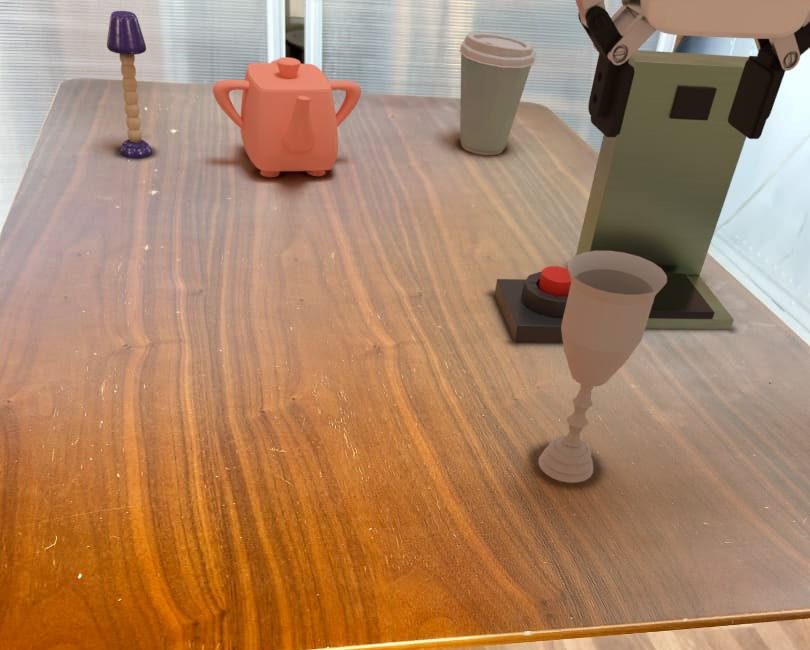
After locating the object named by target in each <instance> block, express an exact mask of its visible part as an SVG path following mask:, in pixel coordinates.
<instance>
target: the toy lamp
mask: <svg viewBox="0 0 810 650" xmlns="http://www.w3.org/2000/svg"><path fill="white" fill-rule="evenodd" d="M106 47H107V49H108V51H109V52H111V53H115V54H118V55H119V60H120V63H121V65H120V72H121V75H122V80H121V82H122V88H123V100H124V102H125V104H124V111H125V115H126V119H125V120H126V121H125V122H126V126H127V128H128V129H127V138H128V139H126V140H124V141H123V143H121V146H120V148H119V154H120V156H122V157H124V158H127V159H133V160H135V159H136V160H138V159H146V158H150V157H151V156H153V154H154V153H153V149H152V146H150V144H149V143H148V142H147V141H145V140H144V139H142V137H143V135H142V130H141V119H140V117H139V116H140V112H141V111H140V106H139V104H138V102H139V94H138V92H137V88H138V82H137V78H136V74H137V71H136V69H137V68H136V66H135V60H136V58H135V55H141V54H143V53H145V52H146V51H147V46H146V42H145V38H144V35H143V33H142V29H141V24H140V21H139V20H138V17H137V15H136V13H134V12H133V11H127V10H114V11H112V12H111V13H110V17H109V25H108V32H107V41H106Z"/></svg>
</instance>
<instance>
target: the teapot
mask: <svg viewBox="0 0 810 650" xmlns="http://www.w3.org/2000/svg"><path fill="white" fill-rule="evenodd" d="M236 90H237V91H238V90H239V91H242V93H241V94H242V96H241V104H240V114H239V113H238V111H237V110H236V108H235V106H234V104H233V102H232V101H231V98H230V92H231V91H236ZM333 91H343V92H345V97H344V100H343V102H342V104H341V106H340V108H339V109H338V111H337V112H336V106H335V100H334V94H333ZM212 94H213V97H214V100H215V101H216V103H217V104H218V106H219V107H220V109H221V110H222V111H223V113H225V115H227V117H228V118H229V119H230V120H231V121H232V122H233V123H234V124H235V125H236V126H238V127H239V129H240V136H241V140H242V144H243V147H244V149H245V152H246V155H247V157H248V159H249V160H250V162H251V163H252V164H253V165H254V166H255V167H256V168H257V169H258V170H259V171H260V172H259V174H260V175H261V176H262V177H265V178H275V177H278V176H280V174H281V172H306V174H308V175H309V176H313V177H322V176H325V175H326V171H329V170H332V169H333V168H334V167H335V164H336V161H337V158H338V153H339V136H338V135H339V133H338V127H339V126H341V125H342V123H343V122H344V121H345V120H346V119H347V118H348V117H349V116H350V114H351V113H352V112H353V110H354V109H355V108H356V106H357V105H358V103H359V100H360V98H361V95H362V88H361V86H360V85H359V84H358V83H357V82H355V81H351V80H344V79H343V80H339V79H338V80H329V79H328V77H327V76H326V74H325V73H324V72H323V71H322V70H321V69H320V68H319V67H318V66H317V65H315V64H313V63H301V61H300V59H297V58H294V57H287V56H285V57H279V58H277V59H276V60H275V59H274V60H272V61H271V62H253V63H249V64H248V65H247V67H246V69H245V76H244V80H243V79H222V80H219V81H216V82H215V83H214V84H213V86H212Z"/></svg>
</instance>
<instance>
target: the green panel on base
mask: <svg viewBox="0 0 810 650" xmlns="http://www.w3.org/2000/svg"><path fill="white" fill-rule="evenodd" d="M748 59H749V56H742V55H741V56H739V55H738V56H737V55H726V54H725V55H724V54H723V55H722V54H707V53H706V54H705V53H689V52H675V51H674V52H673V51H659V50H657V51H656V50H643V49H638V50H637V51H636V52H635V53H634V54H633V55H632V56H631V57H630V58H629V62H628V63H629V64H630V65H631V66H633V67H634V70H635V72H634V77H633V82H632V86H631V90H630V94H629V98H628V102H627V106H626V110H625V114H624V119H623V123H622V127H621V131H620V134H619V135H617V136H616V137H606V136H605V135H604V134H603V135H602V140H601V144H600V149H599V153H598V158H597V162H596V167H595V171H594V175H593V179H592V182H591V183H592V184H591V187H590V192H589V196H588V201H587V205H586V209H585V214H584V219H583V223H582V226H581V231H580V236H579V240H578V245H577V248H576V253H575V256H576V255H579V254H581V253H584V252H591V251H615V252H623V253H628V254H631V255H635V256H639V257H641V258H644V259H646V260H648V261H651V262H653V263H654V264H656V265H657V266H658V267H660V268H661V269H662V270H663V271H664V273H665V274H666V275H667V283H666V284H665V285H664V286H663V288H662V289H661V290H660V291H659V292H658V293H657V294H656V295H655V298H654V301H653V304H652V307H651V311H650V314H649V317H648V321H647V324H646V327H645V330H731V328H732V326H733V323H734V320H735V319H734V318H733V316H732V314H730V313H729V311H728V310H727V309H726V308H725V306H724V305H723V304H722V302H721V301H720V300H719V299H718V297H717V296H716V295H715V294H714V292H713V291H712V290H711V288H710V287H709V285H708V284H706V282H705V281H704V280H703V278H702V277H701V273H702V270H703V267H704V263H705V261H706V258H707V255H708V252H709V249H710V246H711V244H712V240H713V237H714V234H715V231H716V228H717V225H718V223H719V219H720V216H721V213H722V211H723V208H724V205H725V201H726V198H727V195H728V192H729V191H730V187H731V184H732V181H733V177H734V175H735V171H736V169H737V167H738V163H739V160H740V157H741V154H742V152H743V148H744V145H745V142H746V139H747V137H746V136H745V135H743V134H742V133H741V132H739V131H738V130H737V129H735V128H734V127H733V126H731V125H730V124H729V123H728V116H729V113H730V110H731V107H732V104H733V101H734V97H735V94H736V91H737V88H738V85H739V82H740V79H741V76H742V72H743V69H744V66H745V63H746V61H747V60H748Z"/></svg>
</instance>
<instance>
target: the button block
mask: <svg viewBox="0 0 810 650" xmlns="http://www.w3.org/2000/svg"><path fill="white" fill-rule="evenodd" d="M541 272H542V271H538V272H534V273H532V274H529V275H528V276H527V277H526V278H525V279H524V278H523V279H521V278H520V279H518V278H497V279H496V282H495V290H494V297H495V300H496V302H497V305H498V307H499V310H500V312H501V314H502V317H503V320H504V321H505V324H506V326H507V329H508V331H509V333H510V335H511V338H512V340H513V342H514V343H522V344H524V343H527V344H528V343H529V344H531V343H533V344H535V343H537V344H541V343H542V344H563V339H562V331H561V326H562V320H563V316H564V312H565V307H566V303H567V299H568V296H554V295H551V294H547V293H545V292H543V291H541V290H540V289H539V282H540V277H541Z"/></svg>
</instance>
